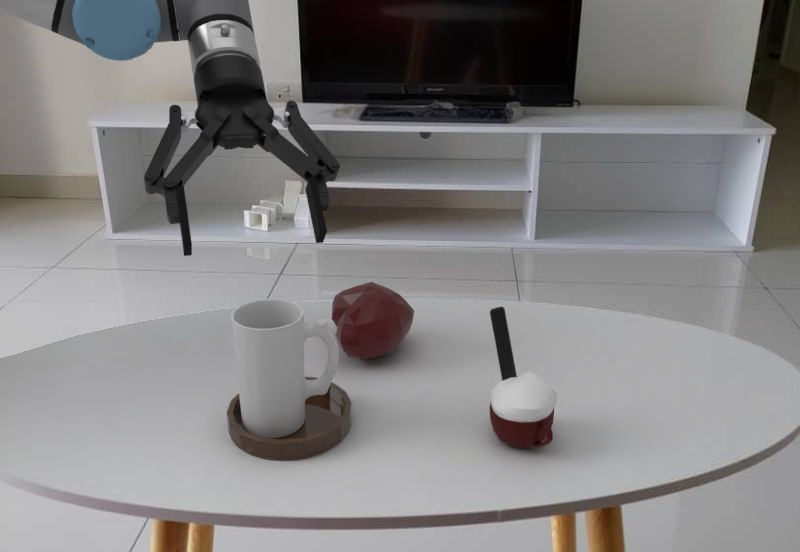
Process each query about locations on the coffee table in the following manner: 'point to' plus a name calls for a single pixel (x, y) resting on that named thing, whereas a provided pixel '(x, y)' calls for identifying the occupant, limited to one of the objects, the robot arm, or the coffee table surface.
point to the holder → (316, 435)
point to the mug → (277, 365)
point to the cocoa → (519, 396)
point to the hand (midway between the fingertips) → (256, 243)
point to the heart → (370, 320)
